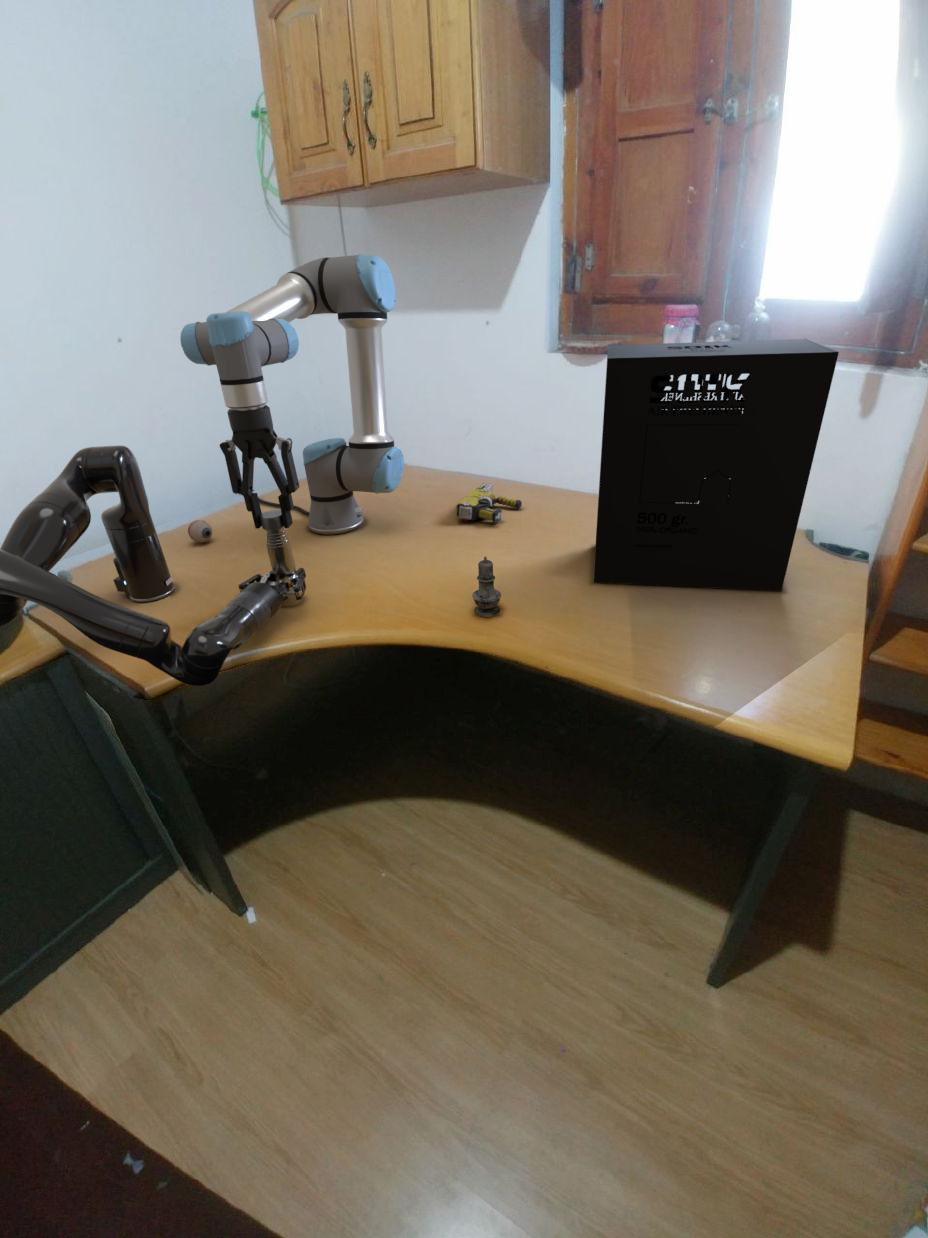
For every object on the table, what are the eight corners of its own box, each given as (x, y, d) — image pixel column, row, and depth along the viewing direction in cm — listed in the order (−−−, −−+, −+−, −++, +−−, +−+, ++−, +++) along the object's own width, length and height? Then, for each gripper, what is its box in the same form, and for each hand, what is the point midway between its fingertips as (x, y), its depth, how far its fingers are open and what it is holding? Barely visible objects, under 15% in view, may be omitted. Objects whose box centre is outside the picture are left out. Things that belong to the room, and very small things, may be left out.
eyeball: (201, 547, 160) (195, 526, 157) (186, 543, 163) (180, 522, 160) (220, 539, 164) (214, 518, 161) (205, 536, 167) (199, 515, 164)
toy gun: (529, 487, 179) (482, 480, 183) (508, 512, 159) (455, 503, 163) (528, 503, 181) (481, 495, 185) (506, 528, 161) (454, 519, 165)
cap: (276, 520, 125) (274, 508, 124) (291, 524, 122) (288, 512, 121) (257, 527, 122) (254, 515, 120) (271, 532, 119) (268, 519, 118)
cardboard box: (760, 550, 140) (805, 338, 118) (781, 591, 123) (838, 351, 101) (595, 545, 148) (608, 345, 125) (593, 582, 131) (607, 358, 108)
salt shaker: (499, 618, 119) (498, 563, 113) (470, 616, 121) (467, 562, 115) (503, 604, 124) (502, 550, 118) (475, 602, 125) (473, 549, 119)
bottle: (302, 604, 129) (283, 519, 119) (279, 608, 128) (259, 522, 119) (302, 595, 133) (284, 511, 123) (280, 598, 132) (260, 514, 123)
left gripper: (223, 623, 119) (265, 585, 133) (289, 628, 116) (325, 588, 130) (213, 590, 115) (257, 553, 130) (281, 594, 112) (319, 556, 127)
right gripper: (303, 400, 113) (323, 518, 124) (209, 404, 115) (238, 519, 126) (289, 408, 106) (312, 532, 118) (190, 412, 108) (222, 533, 120)
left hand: (291, 571), depth 130 cm, fingers closed on bottle, 4 cm apart
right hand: (274, 525), depth 122 cm, fingers open, 5 cm apart
